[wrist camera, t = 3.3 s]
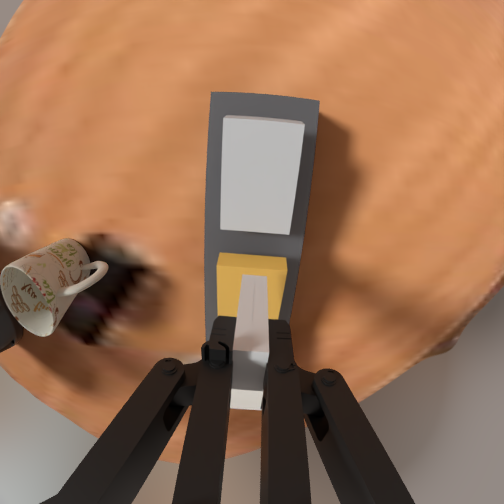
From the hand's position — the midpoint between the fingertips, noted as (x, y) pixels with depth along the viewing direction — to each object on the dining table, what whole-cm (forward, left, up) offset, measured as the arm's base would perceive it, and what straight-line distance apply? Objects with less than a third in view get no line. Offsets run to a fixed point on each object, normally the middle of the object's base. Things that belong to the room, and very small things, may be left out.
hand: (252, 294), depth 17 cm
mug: (-20, -4, -11) cm, 23 cm away
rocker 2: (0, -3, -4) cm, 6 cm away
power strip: (0, -6, -11) cm, 12 cm away
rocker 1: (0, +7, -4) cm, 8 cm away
